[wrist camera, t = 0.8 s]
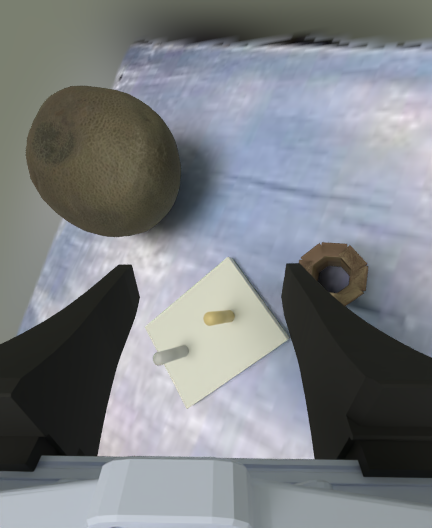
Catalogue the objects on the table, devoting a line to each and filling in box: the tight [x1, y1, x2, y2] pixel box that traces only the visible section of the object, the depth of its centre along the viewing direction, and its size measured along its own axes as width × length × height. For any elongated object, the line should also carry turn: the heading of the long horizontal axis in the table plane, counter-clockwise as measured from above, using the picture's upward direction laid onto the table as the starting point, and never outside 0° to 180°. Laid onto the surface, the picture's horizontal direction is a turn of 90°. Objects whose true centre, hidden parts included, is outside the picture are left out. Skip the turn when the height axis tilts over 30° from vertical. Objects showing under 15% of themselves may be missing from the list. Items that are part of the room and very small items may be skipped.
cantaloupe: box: [26, 86, 181, 237], centre depth 28 cm, size 14×14×15 cm
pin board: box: [145, 257, 290, 409], centre depth 27 cm, size 10×13×6 cm
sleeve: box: [299, 242, 368, 306], centre depth 22 cm, size 5×5×6 cm
